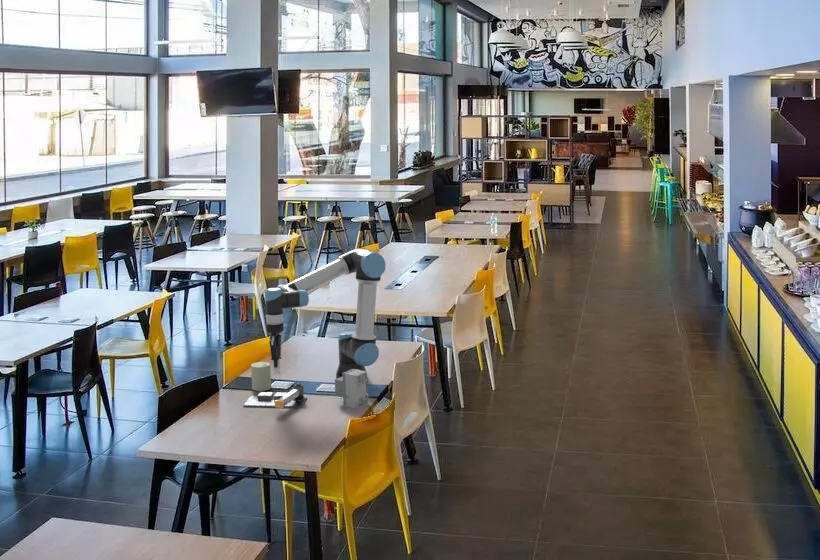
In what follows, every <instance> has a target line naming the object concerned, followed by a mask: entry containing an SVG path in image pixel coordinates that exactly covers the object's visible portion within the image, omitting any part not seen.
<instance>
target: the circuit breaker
mask: <svg viewBox="0 0 820 560" xmlns="http://www.w3.org/2000/svg"><path fill="white" fill-rule="evenodd" d="M351 371H352V372H351ZM342 375H343V376H342V377H340V378H338V379H336V378H335V379H334V389H335V390H334V391H335V392H334V393H335V396H337V397H340V398H342V399H343V406H345V407H350V408H353V409H354V408H355V409H360V408H362V407H364V406H366V405H369V393H367V382H368V379H369V378H368V371H367V370H366V371H362V370H357V369H351V370H349V371H346V372H344V373H342ZM365 377H366V379H365Z"/></svg>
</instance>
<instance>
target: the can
mask: <svg viewBox="0 0 820 560" xmlns="http://www.w3.org/2000/svg"><path fill="white" fill-rule="evenodd" d="M250 369H251V370H250V371H251V390H253V391H257V392H265V391H268V390H270V389H272V380H271V379H272V378H271V377H272V376H271V375H272V373H271V363H270V362H269V361H268V362H267V361H258V362H256V361H255V362H253V363H251V364H250Z"/></svg>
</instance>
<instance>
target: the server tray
mask: <svg viewBox="0 0 820 560" xmlns="http://www.w3.org/2000/svg"><path fill="white" fill-rule="evenodd" d="M287 393H288V392H276V393H274V392H272V391H267V392H265V391H259V393H258V394H257V395H251V396H249V397H248V399H247V400H246V401H245V403H243V406H242V407H245V408H276V407H275V400H278V399H280V398H281V397H283V396H284V395H286V394H287ZM307 399H308V397H307V396H304V398H303V399H294V400H292V401H291V402H289V403H288V404H287V405H285V406H284V408H283V409H285V408H286V409H289V408H290V409H301V408H302V407H303V405H304V403H305V402H306V400H307Z"/></svg>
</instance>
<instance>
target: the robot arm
mask: <svg viewBox="0 0 820 560" xmlns="http://www.w3.org/2000/svg"><path fill="white" fill-rule="evenodd" d="M386 266H387V265H386V260H385V258H384V257H383V256H382V255H381V254H380V253H378V252H377V251H375V250H370V249H367V248H365V247H358V248H354V249H352V250H350V251H347V252H346V253H344V254H342V255H339V256H338V257H337V259H336V260H334V261H332V262H330V263H327V264H326V265H324V266H322V267H319V268H318V269H316V270H314V271H311V272H309V273H307V274H305V275H303V276H301V277H300V278H297V279H295V280H293V281H291V282H289V283H286V284H279V285H277V286H276V287H270V288H267V289H266V290H265V294H264V295H265V296H264V300H265V315H264V318H266V319H265V320H266V321H265V322H266V332H267V333H270V337H269V342H268V343H269V347H270V348H269V349H270V356H271V359H270V360H271V361H272V368H273V370H272V371H273V375H280V374H281V364H280V363H281V361H280V360H281V359H282V355H281V354H282V334H280V333H282V332H284V310H287V309H293V308H302V307H306V306H308V305H309V302H310V300H309V299H310V297H309V292H311V291H313V290H315V289H317V288H319V287H321V286H322V285H326V284H327V283H329V282H331V281H333V280H336V279H337V278H339V277H341V276H343V275H346V276H348V275H350V274H353V273H355V280H356V281H357V282H358V290H357V300H356V318H355V330H353V331H344V332H341V333H339V334H338V339H337V341H338V362H339V363H338V366H337V370H336V373H335V379H338V378H340V377H342V376H343V375H342V373H344V372H346V371H349V370H351V369H357V370H362V371H367V369H366V367H369V366H372V365H373V364H374V363H376V362H377V360H378V359H379V357H380V356H379V354H380V349H379V347H378V346H377V336H376V335H375V334H374V331H375V330H374V328H375V327H374V326H375V317H376V316H375V314H376V304H377V303H376V299H377V286H378V284H379V282H381V279H382V278H381V277H382V275H383V274H384V273H385V270H386ZM351 372H352V371H351ZM365 379H366V377H365Z"/></svg>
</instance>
